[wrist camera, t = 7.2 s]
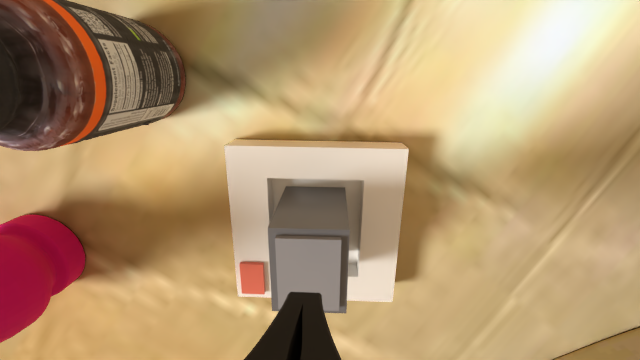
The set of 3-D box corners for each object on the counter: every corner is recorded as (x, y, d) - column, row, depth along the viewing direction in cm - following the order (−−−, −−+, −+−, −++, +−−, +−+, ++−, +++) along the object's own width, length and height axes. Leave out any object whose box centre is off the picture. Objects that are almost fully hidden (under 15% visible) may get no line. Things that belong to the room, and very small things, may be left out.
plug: (345, 187, 20) (350, 232, 14) (342, 252, 22) (346, 317, 16) (285, 186, 20) (266, 230, 14) (287, 250, 22) (271, 314, 16)
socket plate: (401, 142, 20) (410, 150, 17) (387, 283, 23) (393, 305, 21) (234, 139, 20) (222, 146, 18) (245, 278, 24) (236, 299, 21)
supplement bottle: (92, 105, 20) (-193, 138, 9) (99, 7, 18) (-251, -99, 7) (182, 134, 20) (10, 197, 9) (197, 40, 18) (6, -14, 8)
